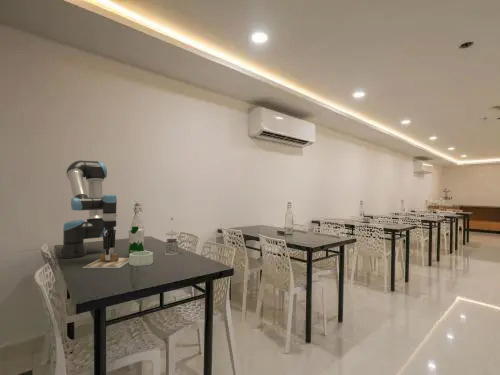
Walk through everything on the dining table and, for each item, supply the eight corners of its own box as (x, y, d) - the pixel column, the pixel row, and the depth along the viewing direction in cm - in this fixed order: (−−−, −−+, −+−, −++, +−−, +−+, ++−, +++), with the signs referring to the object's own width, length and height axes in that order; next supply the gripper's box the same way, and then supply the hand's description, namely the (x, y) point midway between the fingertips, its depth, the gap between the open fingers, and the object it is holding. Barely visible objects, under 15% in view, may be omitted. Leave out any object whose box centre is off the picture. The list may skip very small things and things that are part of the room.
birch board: (86, 266, 168) (86, 257, 168) (100, 259, 186) (101, 250, 186) (118, 266, 168) (118, 257, 168) (129, 259, 186) (129, 250, 186)
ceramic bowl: (126, 266, 171) (126, 256, 171) (134, 260, 184) (134, 251, 184) (148, 266, 171) (148, 256, 171) (155, 260, 184) (155, 251, 184)
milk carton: (126, 257, 191) (126, 227, 191) (133, 254, 200) (133, 225, 200) (139, 258, 190) (139, 227, 190) (145, 255, 199) (146, 225, 199)
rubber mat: (82, 268, 166) (82, 267, 166) (99, 259, 187) (99, 258, 187) (119, 268, 167) (119, 267, 167) (133, 259, 188) (133, 258, 188)
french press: (166, 251, 210) (167, 216, 210) (183, 252, 210) (183, 217, 210) (162, 254, 200) (162, 218, 200) (179, 255, 200) (179, 218, 200)
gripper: (110, 221, 169) (109, 262, 169) (121, 218, 185) (120, 256, 185) (96, 221, 169) (96, 262, 169) (109, 218, 185) (108, 256, 185)
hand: (109, 259), depth 177 cm, fingers open, 3 cm apart
